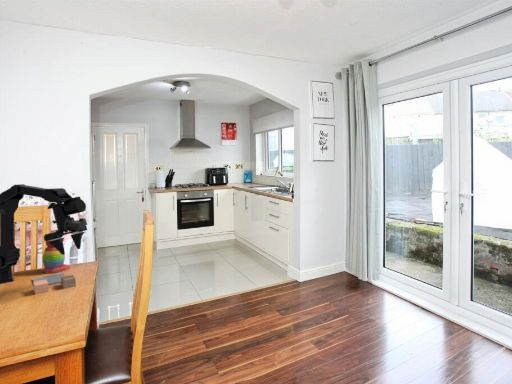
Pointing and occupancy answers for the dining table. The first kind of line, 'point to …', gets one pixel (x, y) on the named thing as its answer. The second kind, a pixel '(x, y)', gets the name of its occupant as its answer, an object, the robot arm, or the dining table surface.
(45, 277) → the baseplate
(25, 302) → the dining table surface
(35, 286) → the terracotta brick
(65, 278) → the walnut brick
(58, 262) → the stacking bear
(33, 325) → the dining table surface
